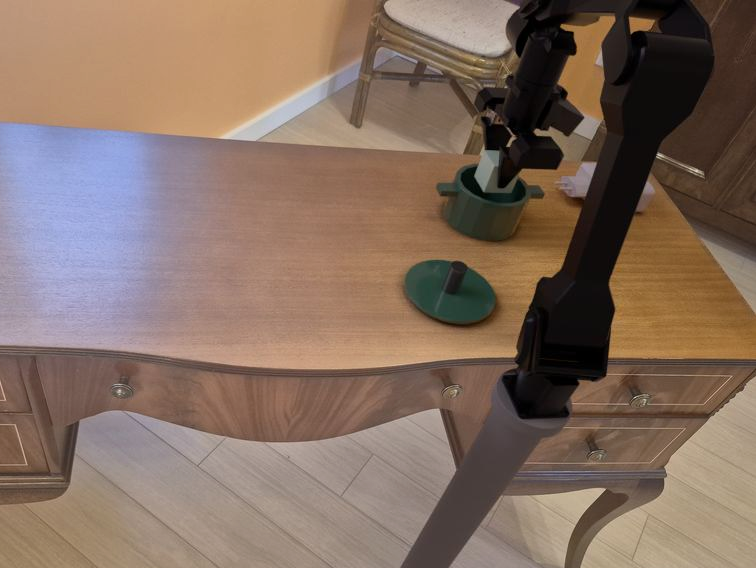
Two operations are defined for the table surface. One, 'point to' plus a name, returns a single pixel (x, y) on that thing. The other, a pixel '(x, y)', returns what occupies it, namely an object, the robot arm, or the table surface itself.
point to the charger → (581, 182)
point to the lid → (449, 291)
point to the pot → (484, 206)
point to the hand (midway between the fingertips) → (495, 179)
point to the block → (491, 173)
